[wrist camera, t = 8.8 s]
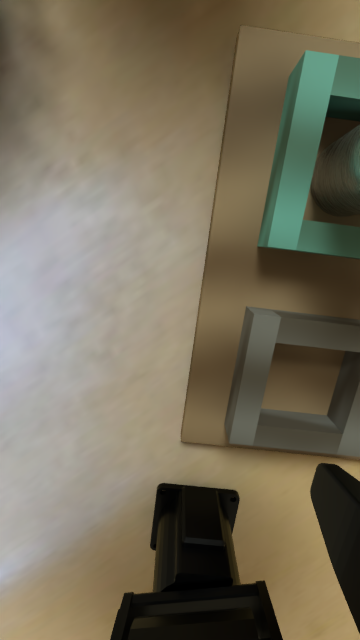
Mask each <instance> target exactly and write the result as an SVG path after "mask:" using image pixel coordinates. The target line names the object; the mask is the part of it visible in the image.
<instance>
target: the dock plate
mask: <svg viewBox="0 0 360 640" xmlns="http://www.w3.org/2000/svg"><path fill="white" fill-rule="evenodd" d="M358 125H360V43H358V42H351V41H345V40H338V39H332V38H325V37H318V36H312V35H305V34H298V33H292V32H285V31H278V30H272V29H265V28H259V27H252V26H245V25H240V29H239V32H238V36H237V40H236V47H235V54H234V61H233V68H232V75H231V83H230V90H229V97H228V104H227V111H226V118H225V125H224V132H223V139H222V146H221V153H220V160H219V167H218V174H217V182H216V189H215V196H214V203H213V210H212V217H211V224H210V231H209V238H208V245H207V252H206V259H205V266H204V273H203V280H202V288H201V295H200V302H199V309H198V316H197V323H196V330H195V337H194V344H193V351H192V358H191V365H190V372H189V379H188V386H187V394H186V401H185V408H184V415H183V422H182V429H181V442H191V443H200V444H210V445H220V446H229V447H239V448H249V449H258V450H268V451H278V452H287V453H297V454H307V455H316V456H326V457H336V458H345V459H355V460H360V214H357V215H351V216H344V217H338V216H333V215H330V214H328V213H326V212H324V211H323V210H322V209H321V208H320V207H319V206H318V205H317V204H316V202H315V200H314V199H313V196H312V193H311V186H310V185H311V180H312V176H313V171H314V167H315V162H316V160H317V158H318V157H319V155H320V154H321V153H322V152H323V151H324V150H325V149H326V148H327V147H328V146H329V145H331V144H332V143H333V142H335V141H336V140H338V139H339V138H341V137H342V136H344V135H345V134H347V133H348V132H349V131H351V130H352V129H354V128H355V127H357V126H358Z"/></svg>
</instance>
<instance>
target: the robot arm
mask: <svg viewBox="0 0 360 640" xmlns="http://www.w3.org/2000/svg"><path fill="white" fill-rule="evenodd" d="M162 490H165V491H162ZM310 493H311V499H312V503H313V506H314V509H315V512H316V516H317V519H318V522H319V525H320V528H321V531H322V535H323V538H324V541H325V544H326V547H327V551H328V554H329V557H330V560H331V563H332V566H333V569H334V571H335V574H336V576H337V579H338V582H339V584H340V587H341V589H342V591H343V594H344V596H345V599H346V601H347V604H348V606H349V609H350V611H351V614H352V616H353V619H354V621H355V623H356V626H357V628H358V631H359V633H360V481H358V480H357V479H356V478H354V477H353V476H351V475H350V474H349V473H347V472H346V471H344V470H343V469H342V468H340V467H339V466H337V465H335V464H327V463H320V464H319V465H318V466H317V468H316V472H315V475H314V479H313V482H312V485H311V491H310ZM231 497H233V498H231ZM238 505H239V494H238V492H237V491H235V490H228V489H217V488H207V487H197V486H187V485H177V484H167V483H161V484H159V485H158V487H157V494H156V502H155V510H154V518H153V526H152V534H151V543H150V547H151V549H153V550H156V557H155V570H154V582H153V592H152V593H141V594H134V593H133V592H130V593H124V596H123V600H122V603H121V607H120V609H119V610H118V613H117V617H116V620H115V624H114V628H113V631H112V635H111V639H110V640H283V639H282V635H281V632H280V629H279V626H278V622H277V619H276V616H275V613H274V609H273V606H272V603H271V600H270V596H269V593H268V590H267V587H266V583H265V581H256V583H253V584H242V585H241V584H240V579H239V573H238V567H237V562H236V556H235V551H234V545H233V539H232V532H233V527H234V523H235V518H236V514H237V509H238Z"/></svg>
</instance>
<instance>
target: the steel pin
mask: <svg viewBox="0 0 360 640" xmlns="http://www.w3.org/2000/svg"><path fill="white" fill-rule="evenodd" d="M310 186H311V193H312V196H313V199H314V200H315V202H316V204H317V205H318V206H319V207H320V208H321V209H322V210H323V211H324V212H326V213H328V214H330V215H333V216H338V217H344V216H351V215H357V214H360V125H358V126H357V127H355V128H354V129H352V130H351V131H349V132H348V133H347V134H345V135H344V136H342V137H341V138H339V139H338V140H336V141H335V142H333V143H332V144H331V145H329V146H328V147H327V148H326V149H325V150H324V151H323V152H322V153H321V154H320V155H319V157H318V158H317V160H316V162H315V167H314V171H313V176H312V180H311V185H310Z"/></svg>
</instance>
